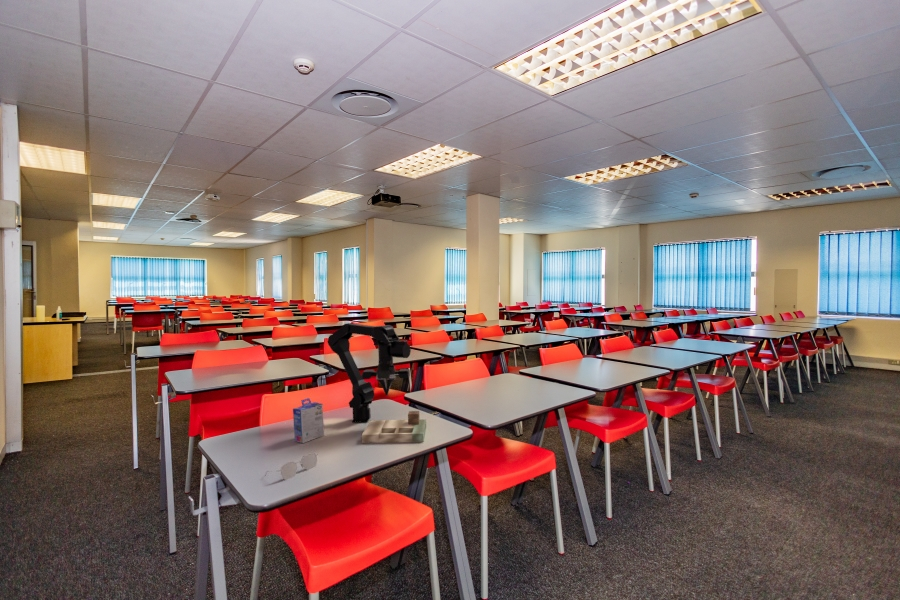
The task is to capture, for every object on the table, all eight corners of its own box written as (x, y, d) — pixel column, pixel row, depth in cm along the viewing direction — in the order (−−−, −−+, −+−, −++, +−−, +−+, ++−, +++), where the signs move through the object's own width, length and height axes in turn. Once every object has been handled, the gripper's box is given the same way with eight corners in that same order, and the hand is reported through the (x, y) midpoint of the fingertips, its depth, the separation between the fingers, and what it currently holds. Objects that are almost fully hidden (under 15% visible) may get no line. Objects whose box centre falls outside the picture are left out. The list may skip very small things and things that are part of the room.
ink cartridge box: (315, 432, 163) (314, 395, 163) (324, 435, 160) (323, 397, 159) (293, 440, 155) (291, 401, 154) (302, 443, 152) (301, 403, 151)
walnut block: (408, 424, 161) (407, 414, 161) (409, 421, 165) (409, 411, 165) (418, 424, 161) (418, 414, 161) (419, 421, 165) (419, 410, 165)
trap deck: (362, 443, 151) (361, 434, 151) (370, 428, 167) (370, 420, 167) (423, 441, 151) (423, 433, 151) (426, 426, 167) (426, 419, 167)
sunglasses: (281, 483, 122) (278, 466, 122) (264, 481, 126) (261, 465, 127) (319, 466, 133) (317, 450, 134) (302, 464, 138) (300, 449, 138)
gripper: (358, 360, 162) (359, 400, 163) (406, 359, 162) (407, 400, 163) (364, 355, 173) (365, 393, 174) (409, 354, 173) (410, 392, 174)
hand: (386, 395), depth 171 cm, fingers closed
